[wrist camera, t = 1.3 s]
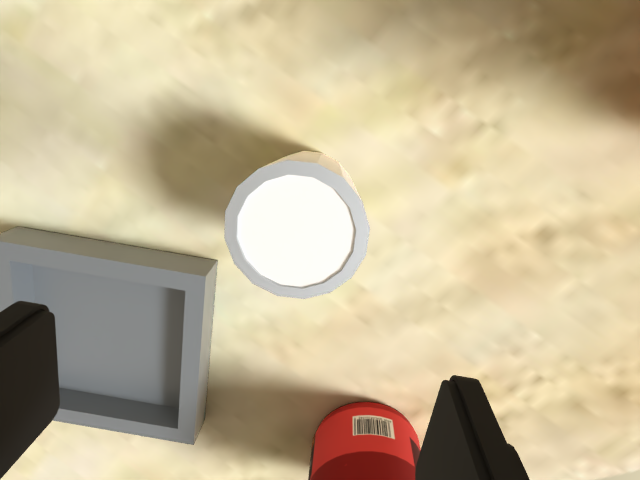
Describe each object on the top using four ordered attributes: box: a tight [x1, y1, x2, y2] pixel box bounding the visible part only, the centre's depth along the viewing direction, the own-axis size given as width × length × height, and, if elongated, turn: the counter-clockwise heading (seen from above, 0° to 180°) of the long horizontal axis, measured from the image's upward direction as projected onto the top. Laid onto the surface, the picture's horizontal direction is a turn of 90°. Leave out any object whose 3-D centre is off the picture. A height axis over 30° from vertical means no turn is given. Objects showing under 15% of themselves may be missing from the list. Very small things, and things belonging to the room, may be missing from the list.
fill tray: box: [0, 226, 218, 445], centre depth 30 cm, size 13×13×2 cm
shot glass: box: [225, 151, 370, 299], centre depth 23 cm, size 7×7×7 cm
